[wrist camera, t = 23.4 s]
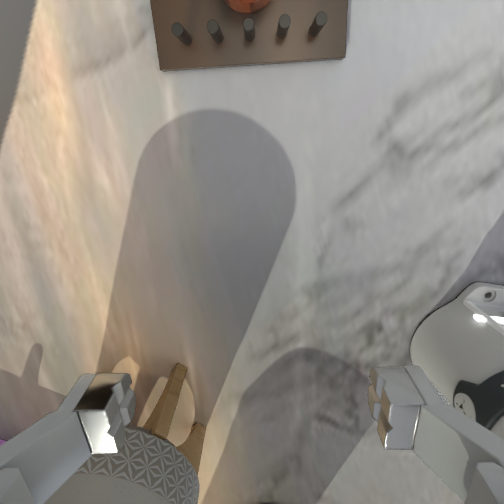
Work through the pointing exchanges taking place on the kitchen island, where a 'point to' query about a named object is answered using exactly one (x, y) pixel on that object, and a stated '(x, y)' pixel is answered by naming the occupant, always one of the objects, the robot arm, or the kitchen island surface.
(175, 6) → the rack
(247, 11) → the cup
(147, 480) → the planter
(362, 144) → the kitchen island surface
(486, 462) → the robot arm
